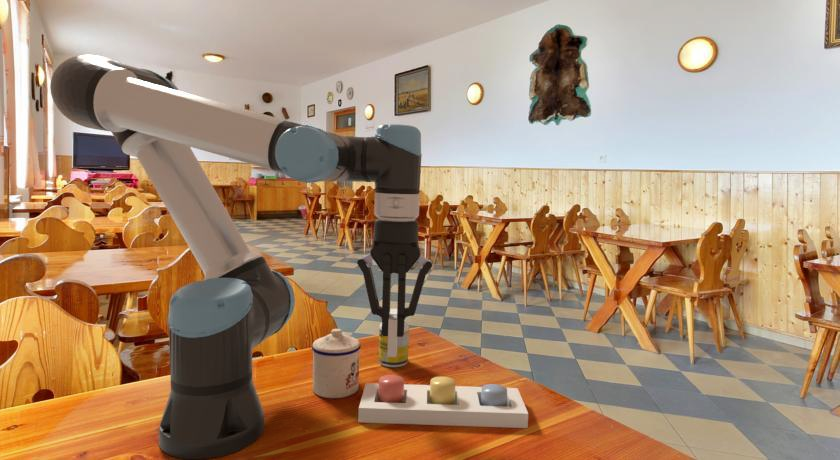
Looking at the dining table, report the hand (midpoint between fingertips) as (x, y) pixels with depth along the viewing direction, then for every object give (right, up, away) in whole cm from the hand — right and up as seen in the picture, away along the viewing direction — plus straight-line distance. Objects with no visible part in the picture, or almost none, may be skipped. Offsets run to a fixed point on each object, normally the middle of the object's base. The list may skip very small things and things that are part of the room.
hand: (392, 353), depth 87 cm
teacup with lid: (-11, -9, +10) cm, 18 cm away
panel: (+9, -10, +1) cm, 13 cm away
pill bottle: (-1, -8, +23) cm, 24 cm away
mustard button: (+9, -8, +1) cm, 12 cm away
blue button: (+18, -10, +1) cm, 20 cm away
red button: (0, -8, +1) cm, 8 cm away
